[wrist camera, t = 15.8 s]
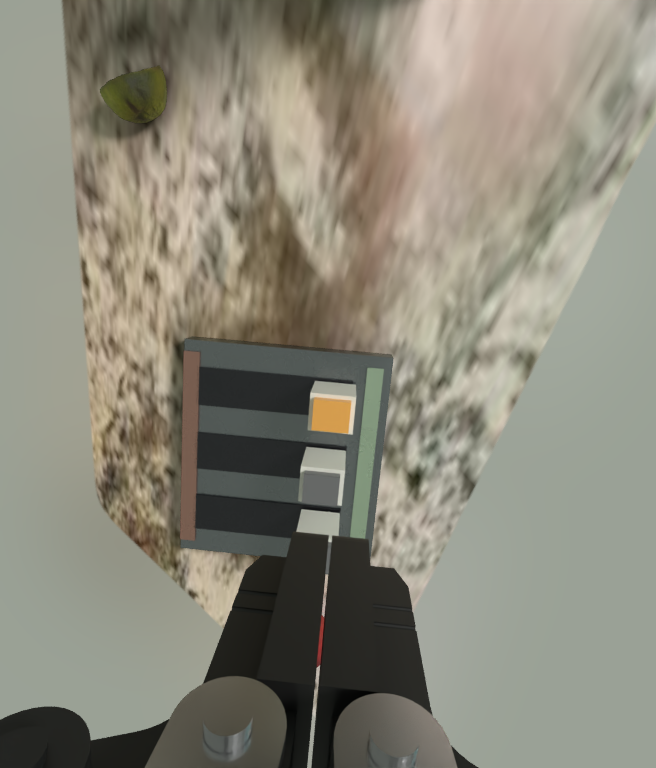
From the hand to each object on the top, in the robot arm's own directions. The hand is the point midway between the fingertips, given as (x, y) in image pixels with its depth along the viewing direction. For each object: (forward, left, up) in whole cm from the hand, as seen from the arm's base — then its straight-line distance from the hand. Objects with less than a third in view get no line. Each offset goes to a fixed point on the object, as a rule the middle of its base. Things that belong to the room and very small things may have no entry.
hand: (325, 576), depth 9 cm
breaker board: (+10, -5, -33) cm, 35 cm away
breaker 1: (+10, -1, -30) cm, 32 cm away
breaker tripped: (+4, -1, -31) cm, 31 cm away
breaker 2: (+16, -1, -31) cm, 34 cm away
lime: (-19, -18, -33) cm, 42 cm away
